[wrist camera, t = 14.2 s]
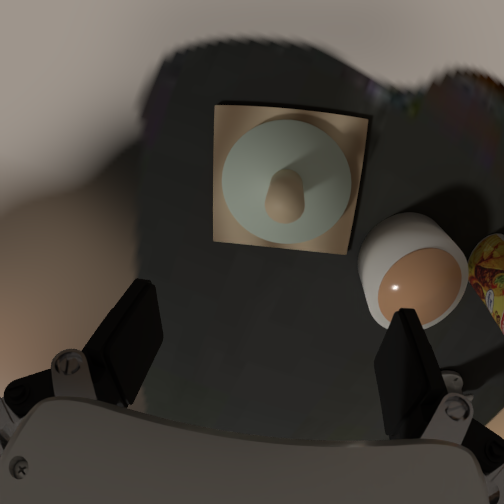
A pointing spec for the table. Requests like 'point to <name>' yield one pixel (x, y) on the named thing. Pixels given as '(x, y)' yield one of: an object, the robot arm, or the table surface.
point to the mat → (247, 117)
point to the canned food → (489, 274)
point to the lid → (286, 181)
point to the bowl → (411, 269)
